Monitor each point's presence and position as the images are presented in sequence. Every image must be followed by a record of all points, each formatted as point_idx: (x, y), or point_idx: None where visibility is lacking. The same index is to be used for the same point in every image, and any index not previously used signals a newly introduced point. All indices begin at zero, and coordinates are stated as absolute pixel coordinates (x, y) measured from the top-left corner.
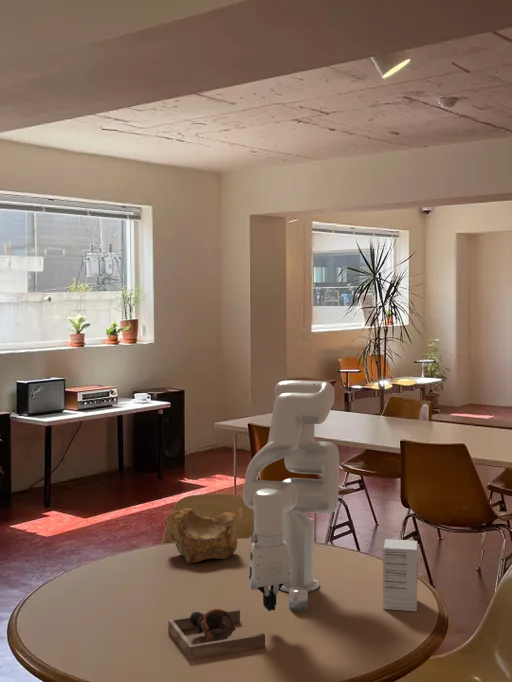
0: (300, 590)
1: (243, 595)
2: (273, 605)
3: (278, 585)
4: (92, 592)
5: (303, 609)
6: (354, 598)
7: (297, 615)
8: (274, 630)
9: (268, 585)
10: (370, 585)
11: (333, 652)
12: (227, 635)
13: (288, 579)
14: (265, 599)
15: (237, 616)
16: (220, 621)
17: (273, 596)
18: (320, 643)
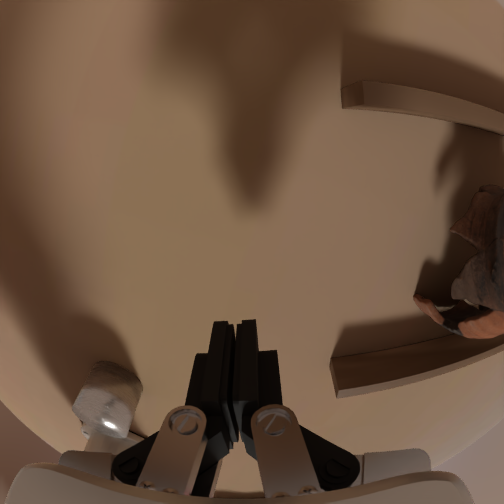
0: (92, 418)
1: (247, 453)
2: (222, 341)
3: (148, 470)
4: (453, 444)
5: (100, 364)
6: (14, 359)
7: (119, 345)
8: (231, 257)
9: (289, 501)
10: (9, 383)
11: (77, 3)
12: (488, 190)
13: (30, 477)
14: (280, 388)
15: (344, 372)
16: (448, 320)
17: (215, 394)
18: (81, 76)
